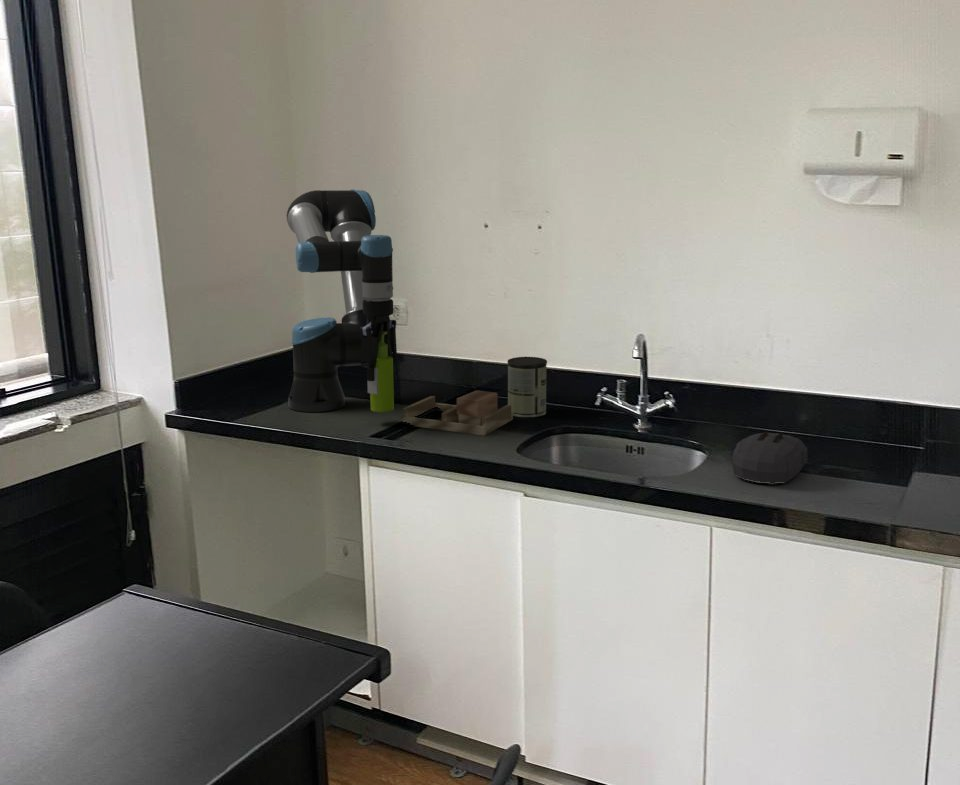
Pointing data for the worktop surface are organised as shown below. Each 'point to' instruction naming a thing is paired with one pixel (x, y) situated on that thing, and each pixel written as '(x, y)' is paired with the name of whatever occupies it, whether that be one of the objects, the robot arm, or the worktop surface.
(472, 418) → the lower offcut
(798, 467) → the slotted dark dome
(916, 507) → the worktop surface
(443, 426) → the rack
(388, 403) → the soap dispenser
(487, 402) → the upper offcut
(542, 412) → the coffee can
